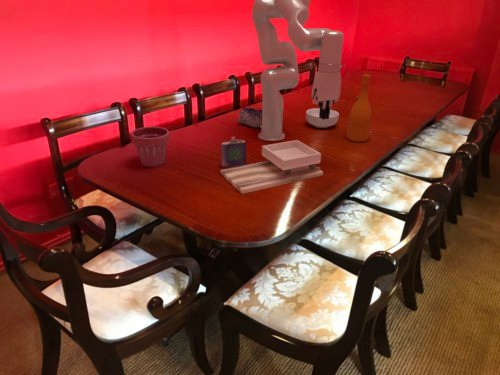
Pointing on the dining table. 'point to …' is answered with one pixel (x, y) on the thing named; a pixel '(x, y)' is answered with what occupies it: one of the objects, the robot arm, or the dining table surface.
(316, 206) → the dining table surface
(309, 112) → the cereal bowl
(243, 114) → the geode
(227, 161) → the flask
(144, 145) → the plant pot
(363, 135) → the wine bottle
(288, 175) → the rail board
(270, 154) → the pink rimmed tray
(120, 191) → the dining table surface
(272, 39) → the robot arm
